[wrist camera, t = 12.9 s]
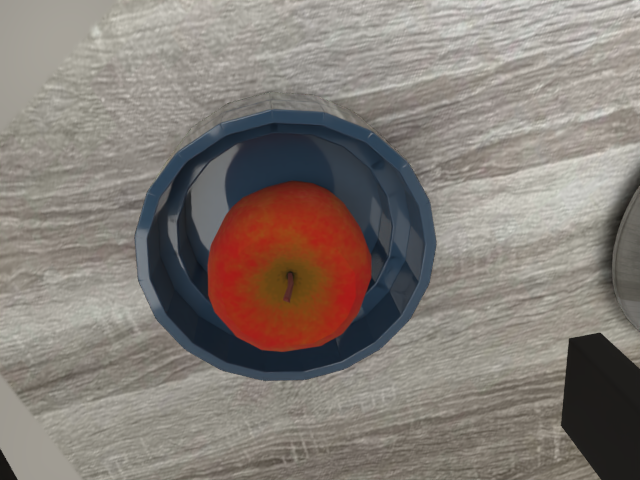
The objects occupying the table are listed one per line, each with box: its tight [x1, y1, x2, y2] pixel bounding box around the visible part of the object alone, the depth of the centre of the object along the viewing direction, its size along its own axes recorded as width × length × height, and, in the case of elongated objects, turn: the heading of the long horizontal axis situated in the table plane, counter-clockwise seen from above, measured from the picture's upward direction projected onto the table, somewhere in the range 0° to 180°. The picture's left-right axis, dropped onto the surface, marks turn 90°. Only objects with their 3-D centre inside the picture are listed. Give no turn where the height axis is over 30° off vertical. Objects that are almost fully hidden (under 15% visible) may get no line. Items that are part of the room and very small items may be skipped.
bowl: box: [134, 92, 437, 381], centre depth 23 cm, size 12×12×5 cm
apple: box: [208, 180, 371, 352], centre depth 21 cm, size 6×6×8 cm
